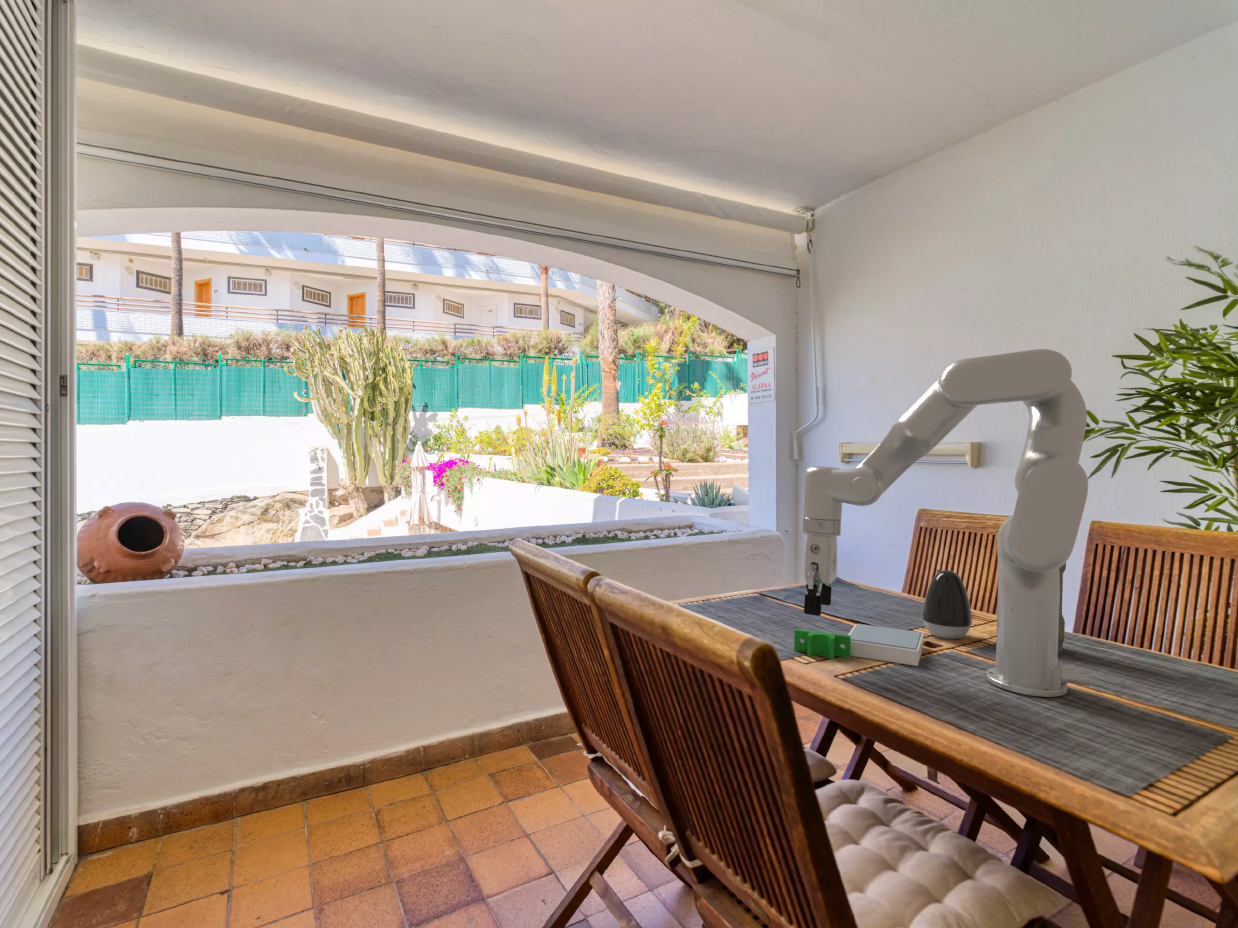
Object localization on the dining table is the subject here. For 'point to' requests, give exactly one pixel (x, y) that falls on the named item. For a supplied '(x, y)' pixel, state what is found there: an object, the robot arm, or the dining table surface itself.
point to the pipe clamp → (822, 643)
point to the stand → (886, 644)
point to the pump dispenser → (947, 606)
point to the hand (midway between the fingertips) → (817, 609)
